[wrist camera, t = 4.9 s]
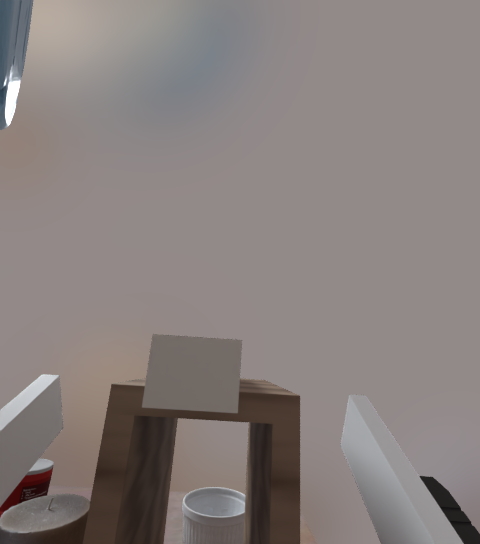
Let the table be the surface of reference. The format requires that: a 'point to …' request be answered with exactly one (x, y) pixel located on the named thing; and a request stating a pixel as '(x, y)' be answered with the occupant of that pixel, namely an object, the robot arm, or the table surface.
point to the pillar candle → (46, 520)
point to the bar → (193, 374)
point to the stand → (159, 457)
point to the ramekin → (213, 516)
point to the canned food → (31, 485)
